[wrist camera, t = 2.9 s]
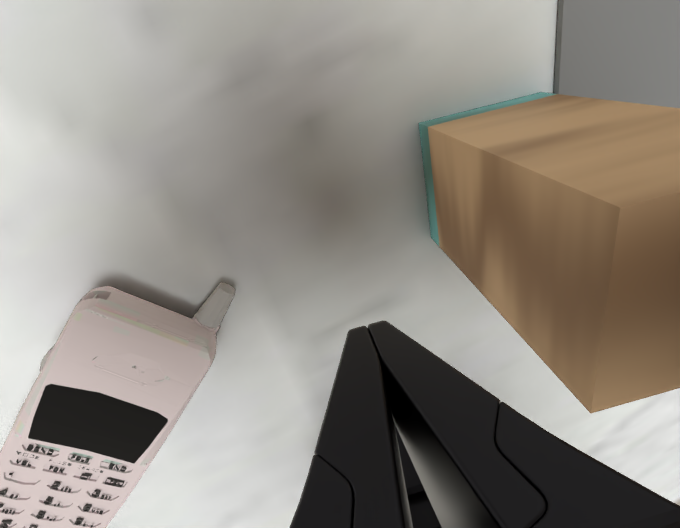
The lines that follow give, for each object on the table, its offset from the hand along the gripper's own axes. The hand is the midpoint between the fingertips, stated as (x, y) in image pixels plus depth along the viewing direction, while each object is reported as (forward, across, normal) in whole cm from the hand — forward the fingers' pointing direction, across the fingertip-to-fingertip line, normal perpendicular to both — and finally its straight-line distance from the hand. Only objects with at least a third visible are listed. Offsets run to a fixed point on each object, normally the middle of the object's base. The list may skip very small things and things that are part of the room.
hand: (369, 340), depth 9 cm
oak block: (+8, -7, 0) cm, 11 cm away
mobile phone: (+9, +15, +9) cm, 20 cm away
